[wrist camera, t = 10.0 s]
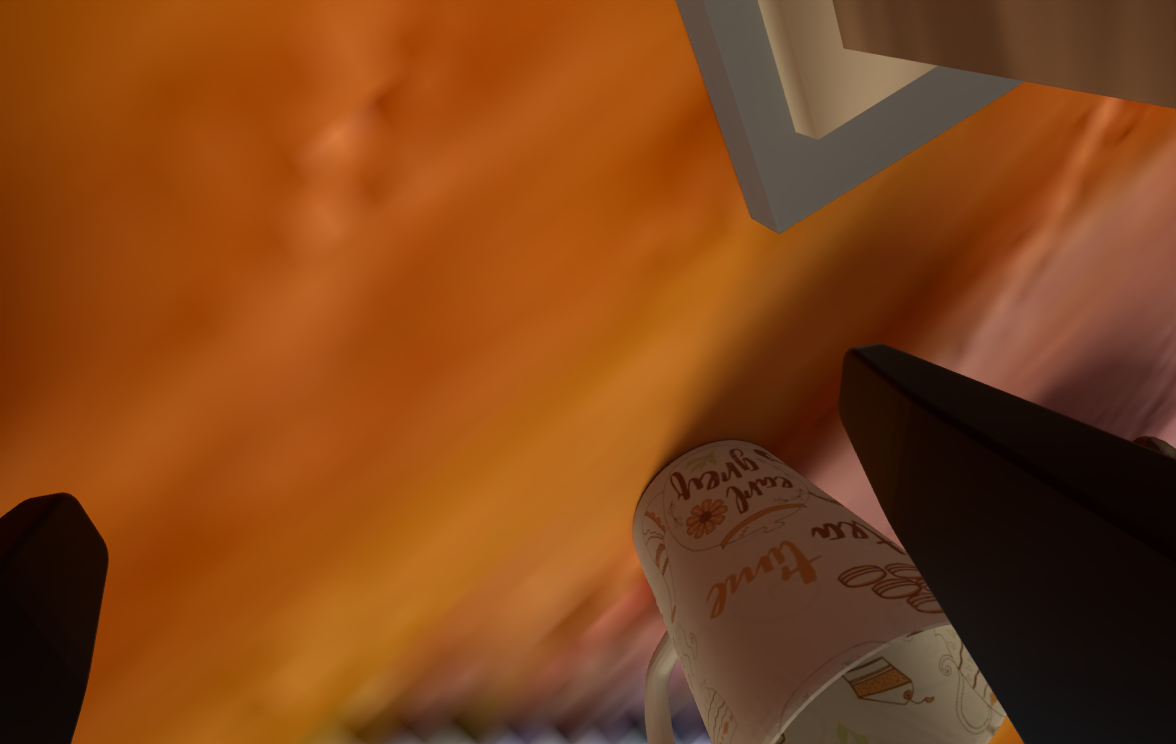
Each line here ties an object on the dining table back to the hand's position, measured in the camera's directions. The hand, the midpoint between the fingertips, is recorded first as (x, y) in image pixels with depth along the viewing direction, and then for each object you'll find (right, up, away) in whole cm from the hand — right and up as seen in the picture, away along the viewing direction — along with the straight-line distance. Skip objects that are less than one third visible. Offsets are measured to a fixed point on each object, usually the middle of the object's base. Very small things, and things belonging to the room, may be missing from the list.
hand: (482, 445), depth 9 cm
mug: (+5, -6, +20) cm, 21 cm away
